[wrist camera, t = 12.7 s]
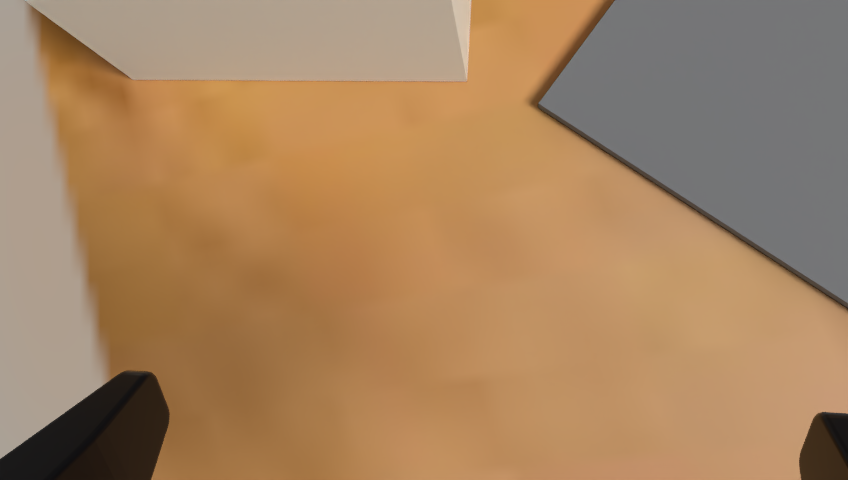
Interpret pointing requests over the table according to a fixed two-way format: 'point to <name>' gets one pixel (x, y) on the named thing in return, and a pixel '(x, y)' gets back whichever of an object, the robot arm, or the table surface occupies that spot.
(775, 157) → the mat
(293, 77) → the cover
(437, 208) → the table surface
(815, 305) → the table surface
